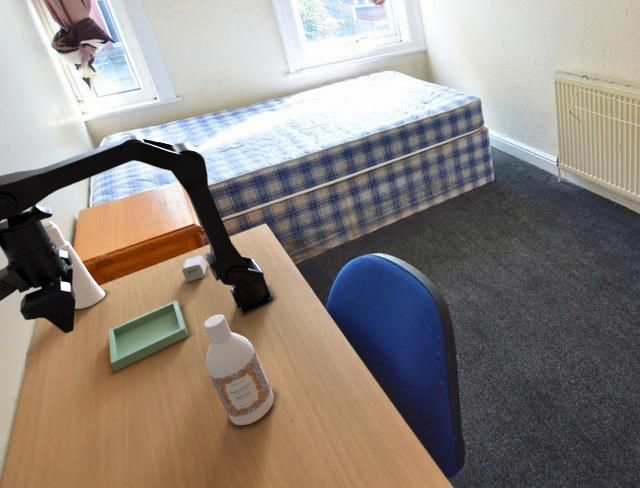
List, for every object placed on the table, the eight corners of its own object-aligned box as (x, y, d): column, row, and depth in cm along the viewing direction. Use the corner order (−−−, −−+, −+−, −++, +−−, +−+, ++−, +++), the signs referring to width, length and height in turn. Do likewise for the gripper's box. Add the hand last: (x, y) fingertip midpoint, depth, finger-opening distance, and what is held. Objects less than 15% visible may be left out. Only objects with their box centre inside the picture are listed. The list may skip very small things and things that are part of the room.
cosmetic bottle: (73, 313, 110) (26, 234, 101) (74, 300, 114) (30, 224, 106) (105, 300, 113) (62, 223, 105) (105, 288, 118) (64, 213, 109)
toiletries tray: (179, 307, 109) (176, 300, 108) (188, 336, 100) (184, 328, 99) (112, 337, 101) (108, 330, 100) (115, 371, 92) (110, 363, 91)
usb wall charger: (187, 282, 117) (181, 269, 116) (191, 267, 123) (185, 254, 122) (205, 276, 119) (199, 263, 117) (208, 262, 125) (203, 249, 123)
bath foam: (232, 435, 77) (188, 345, 69) (229, 405, 83) (188, 318, 75) (277, 411, 81) (240, 323, 73) (271, 384, 86) (236, 299, 78)
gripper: (-33, 247, 81) (10, 318, 87) (-48, 296, 68) (4, 374, 74) (52, 221, 88) (87, 288, 94) (53, 261, 75) (93, 335, 81)
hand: (68, 319), depth 86 cm, fingers open, 9 cm apart
